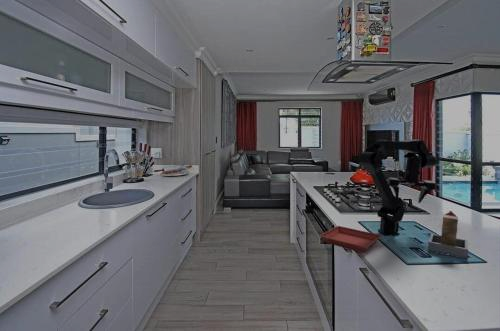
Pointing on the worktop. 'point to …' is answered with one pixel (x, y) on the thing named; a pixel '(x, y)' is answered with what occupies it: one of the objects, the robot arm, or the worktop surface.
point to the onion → (450, 214)
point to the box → (448, 246)
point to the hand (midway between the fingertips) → (407, 201)
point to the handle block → (449, 230)
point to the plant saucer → (350, 238)
